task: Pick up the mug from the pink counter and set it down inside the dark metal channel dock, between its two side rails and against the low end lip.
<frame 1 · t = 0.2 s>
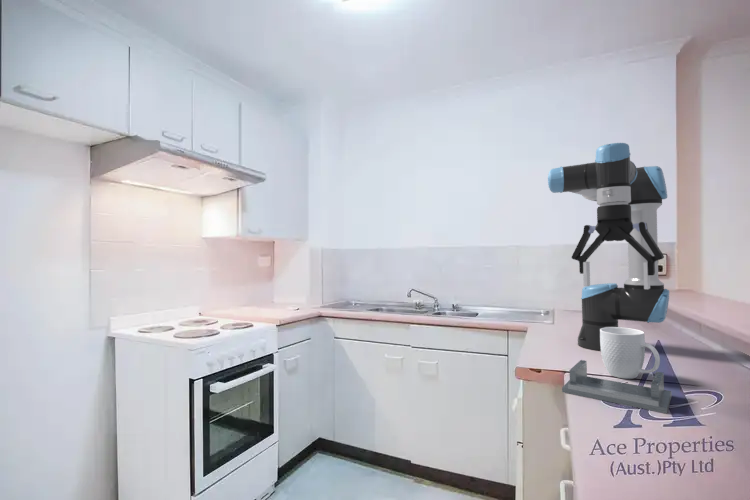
hand: (615, 287, 101), 27 cm above the table, fingers open, 13 cm apart
mug: (626, 377, 113), on the table
dock: (615, 394, 100), on the table
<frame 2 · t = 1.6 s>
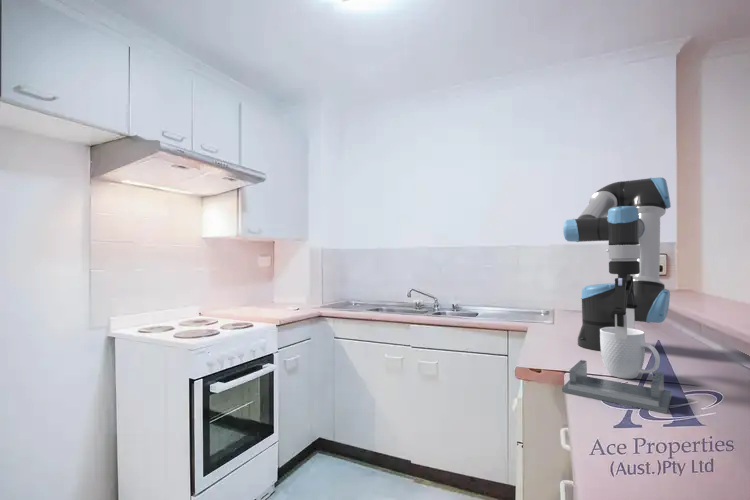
hand: (625, 334, 112), 12 cm above the table, fingers open, 13 cm apart
nothing on the table moved.
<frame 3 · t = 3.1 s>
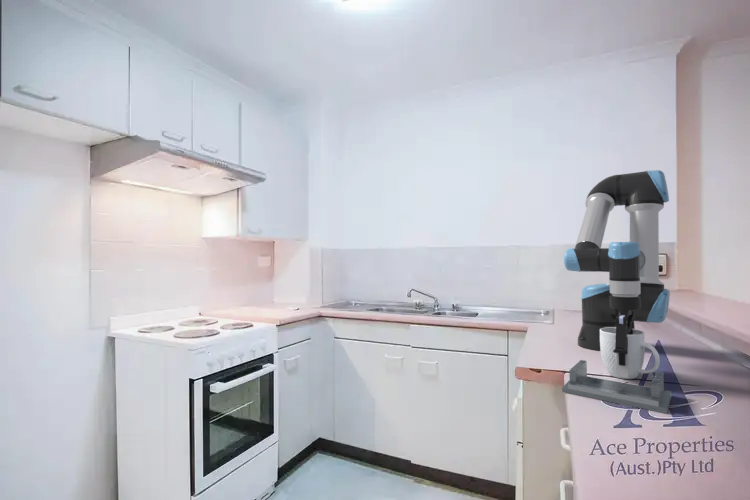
hand: (626, 371, 113), 1 cm above the table, fingers closed on mug, 11 cm apart
mug: (626, 377, 113), on the table, touching gripper
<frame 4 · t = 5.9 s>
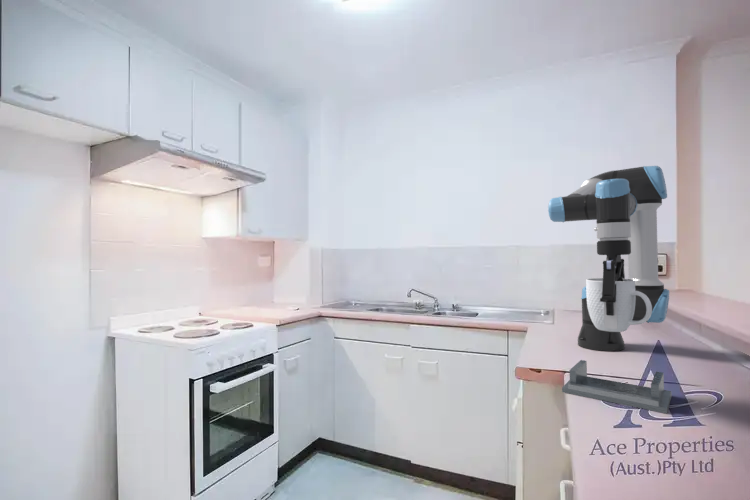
hand: (615, 324, 101), 17 cm above the table, fingers closed on mug, 11 cm apart
mug: (615, 331, 101), point 16 cm above the table, touching gripper
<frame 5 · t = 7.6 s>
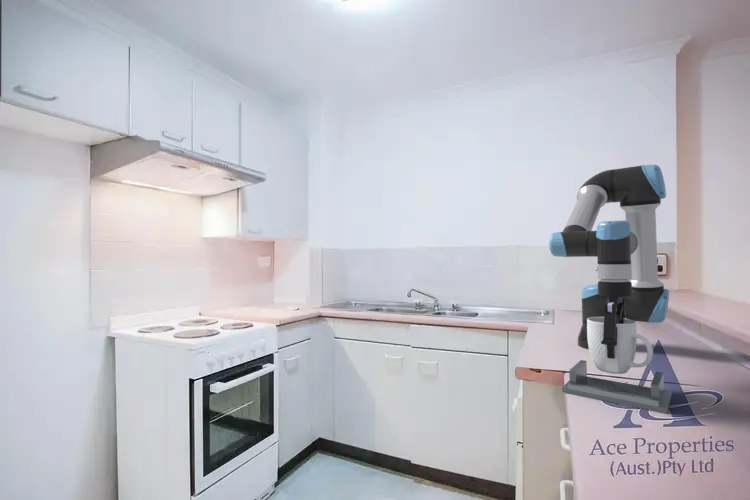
hand: (616, 365, 101), 7 cm above the table, fingers closed on mug, 11 cm apart
mug: (616, 372, 101), point 5 cm above the table, touching gripper
when the fingers open (4 cm above the table, at t = 8.9 s): mug drops 1 cm, resting on dock.
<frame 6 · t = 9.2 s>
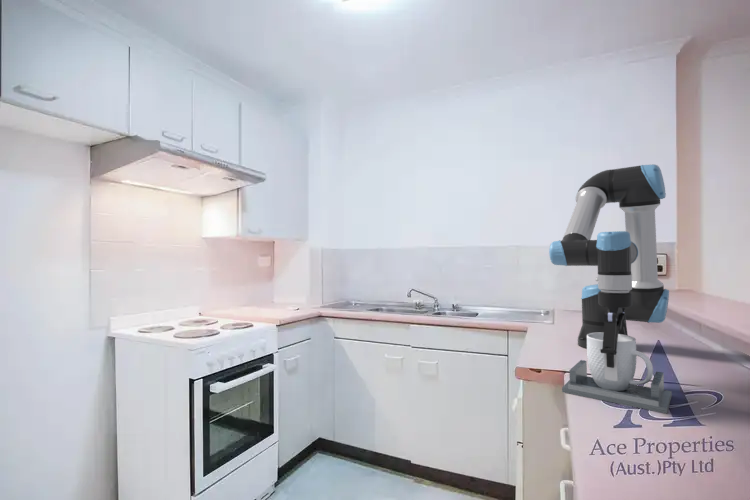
hand: (616, 372, 101), 5 cm above the table, fingers open, 13 cm apart
mug: (616, 388, 101), point 1 cm above the table, touching dock
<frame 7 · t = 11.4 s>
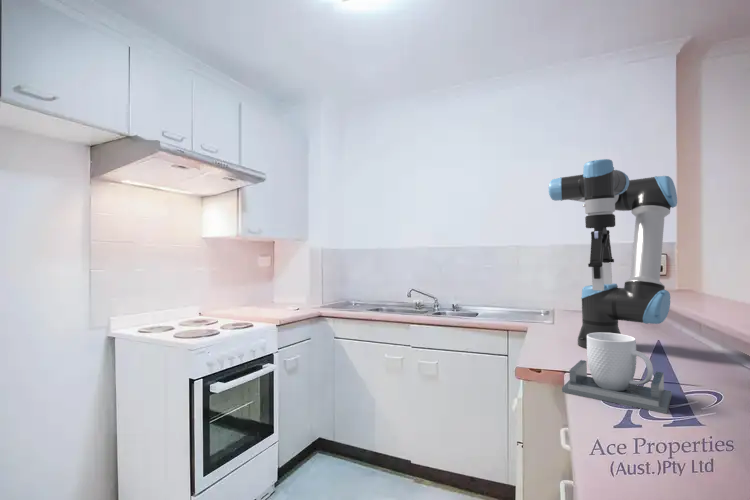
hand: (602, 287, 114), 26 cm above the table, fingers open, 13 cm apart
nothing on the table moved.
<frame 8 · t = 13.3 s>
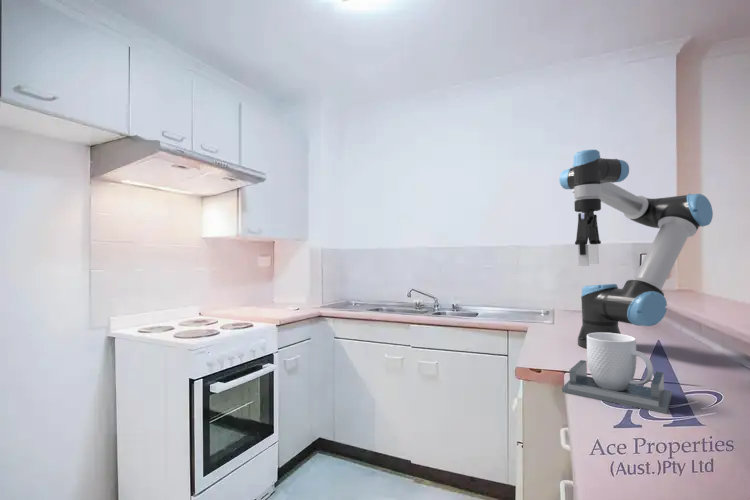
hand: (589, 264, 127), 32 cm above the table, fingers open, 13 cm apart
nothing on the table moved.
at the end: mug inside the target area on the dock (0.4 cm from its centre), point 1.0 cm above the dock's base; mug tilted 0°; the gripper is holding nothing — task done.
